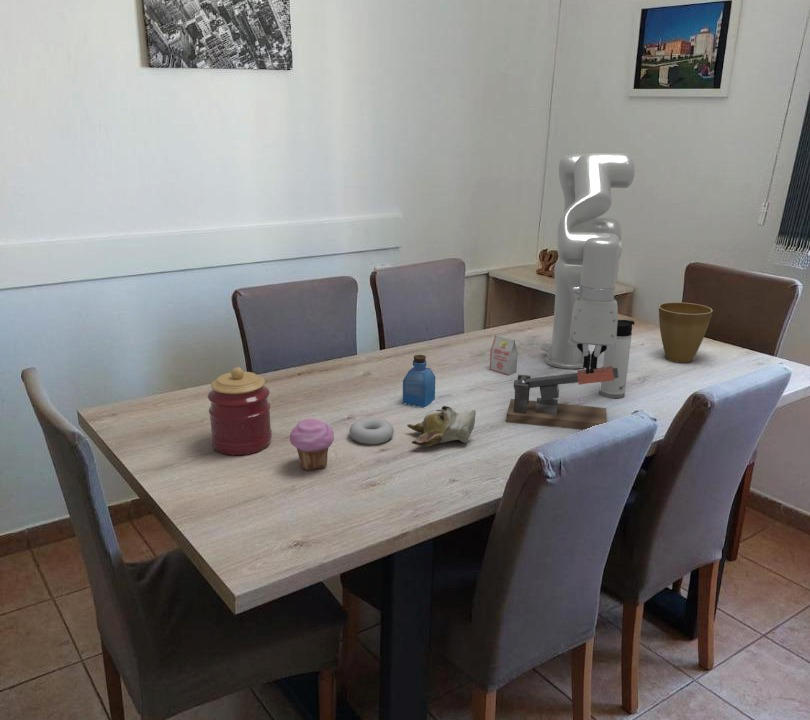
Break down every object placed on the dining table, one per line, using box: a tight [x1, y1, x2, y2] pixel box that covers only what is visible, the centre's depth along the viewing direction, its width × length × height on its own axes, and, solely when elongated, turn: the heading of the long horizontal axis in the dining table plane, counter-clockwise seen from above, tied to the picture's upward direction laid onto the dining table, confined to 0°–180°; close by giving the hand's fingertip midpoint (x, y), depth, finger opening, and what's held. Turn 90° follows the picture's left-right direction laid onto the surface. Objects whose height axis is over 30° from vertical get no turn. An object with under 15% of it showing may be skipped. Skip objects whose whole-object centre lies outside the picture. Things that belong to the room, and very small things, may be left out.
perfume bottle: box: [402, 354, 436, 408], centre depth 179 cm, size 6×6×12 cm
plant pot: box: [658, 301, 713, 364], centre depth 213 cm, size 15×15×16 cm
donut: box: [348, 417, 395, 445], centre depth 160 cm, size 10×4×10 cm
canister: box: [207, 366, 273, 456], centre depth 154 cm, size 13×13×18 cm
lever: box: [513, 366, 619, 400], centre depth 168 cm, size 24×4×5 cm, turn 76°
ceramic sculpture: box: [406, 405, 477, 447], centre depth 158 cm, size 11×9×15 cm
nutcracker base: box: [505, 374, 608, 430], centre depth 170 cm, size 23×10×9 cm, turn 76°
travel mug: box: [599, 319, 635, 399], centre depth 184 cm, size 6×7×20 cm
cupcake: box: [289, 418, 335, 471], centre depth 146 cm, size 9×9×10 cm
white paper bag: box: [489, 334, 519, 376], centre depth 202 cm, size 4×7×10 cm, turn 45°
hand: (589, 371), depth 165 cm, fingers closed
